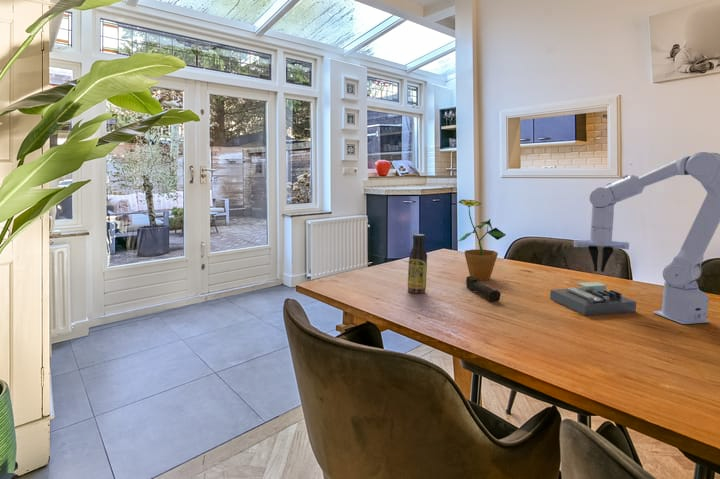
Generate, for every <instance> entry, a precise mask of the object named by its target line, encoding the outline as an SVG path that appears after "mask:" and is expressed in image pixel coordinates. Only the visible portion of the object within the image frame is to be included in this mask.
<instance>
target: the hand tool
mask: <svg viewBox="0 0 720 479" xmlns="http://www.w3.org/2000/svg"><path fill="white" fill-rule="evenodd" d="M465 284H466V288H467V289H468V290H469V291H471V292H475V293H476V294H479V295H481V297H484V298H485V299H487V300H488V302H489V303H497V302H499V301H500V300H501V295H502V293H501V292H500V291H499V290H497V289H493V288H492V287H491V286H486V285H485V284H483V283H481V282H479V280H478V279H476V278H474V277H472V276H470V275H468V276H467V277H466V279H465Z"/></svg>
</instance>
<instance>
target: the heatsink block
mask: <svg viewBox="0 0 720 479" xmlns="http://www.w3.org/2000/svg"><path fill="white" fill-rule="evenodd" d="M576 288H577V289H580V290H582V291H585V292H587V293H590V294H592V295H595V296H597V297H600V298H603V299H604V301H603V302H594V298H592V297H587V299H586V298H584V297H581V296H579V295H577V294H574V293H572V292H570V291H567V290H566V288H561V289H559V288H558V289H550V295H549V296H550V297H549V299H550V300H552V301H553V302H555V303H557V304H559V305H561V306H564V307H565V308H568V309H569V310H572V311H574V312H575V313H578V314H580V315H582V316H596V315H597V316H598V315H610V314H611V315H612V314H625V313H636V309H637V301H635V300H633V299H630V298H628V297H626V296H623V293H621V292H620V291H616V290H613V289H609V291H608V290H607V289H606V290H604V292H602V291H598V292H595V291H590V290H587V289H584V288H582V287H576Z"/></svg>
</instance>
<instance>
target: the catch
mask: <svg viewBox="0 0 720 479" xmlns="http://www.w3.org/2000/svg"><path fill="white" fill-rule="evenodd" d="M576 285H577V287H578V288H584V289H587V290H590V291H595V292H598V291H602V292H604V290H606V291H607V284H604V283H601V282H599V281H591V282H577V283H576Z"/></svg>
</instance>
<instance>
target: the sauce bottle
mask: <svg viewBox="0 0 720 479" xmlns="http://www.w3.org/2000/svg"><path fill="white" fill-rule="evenodd" d="M425 239H426V234H424V233H414V234H413V235H412V240H413V241H412V243H413V244H412V247H411V248H412V249H411V250H410V252H409V257H408V269H407V272H408V273H407V291H408V292H410V293H413V294H422V293H425V292H426V289H427V273H428V270H427V268H428V254H427V252H426V250H425Z"/></svg>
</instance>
